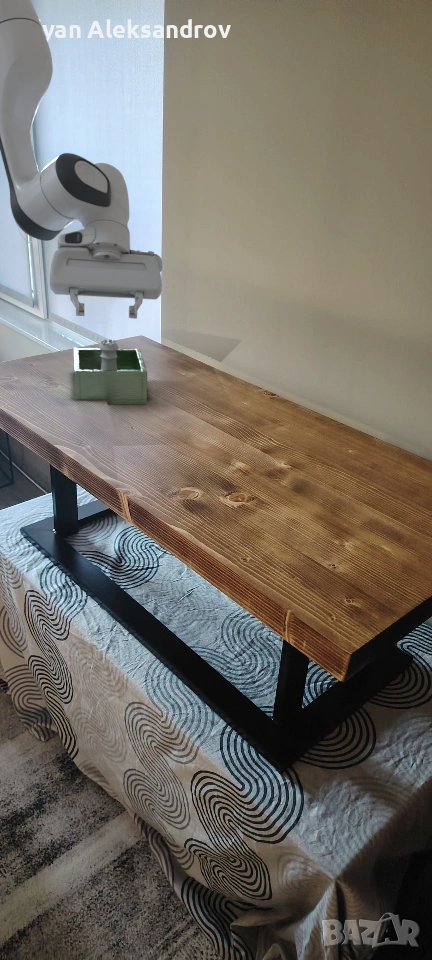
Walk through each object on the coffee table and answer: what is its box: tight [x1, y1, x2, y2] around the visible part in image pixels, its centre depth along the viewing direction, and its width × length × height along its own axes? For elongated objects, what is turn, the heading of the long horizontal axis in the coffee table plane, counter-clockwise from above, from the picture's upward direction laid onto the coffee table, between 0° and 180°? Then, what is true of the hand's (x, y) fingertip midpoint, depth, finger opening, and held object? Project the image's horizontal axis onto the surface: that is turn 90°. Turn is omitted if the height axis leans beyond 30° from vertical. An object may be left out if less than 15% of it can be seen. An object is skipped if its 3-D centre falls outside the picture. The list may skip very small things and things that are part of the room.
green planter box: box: [73, 347, 148, 406], centre depth 107 cm, size 12×12×6 cm
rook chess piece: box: [98, 338, 120, 370], centre depth 106 cm, size 4×4×8 cm
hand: (106, 315), depth 113 cm, fingers open, 8 cm apart
